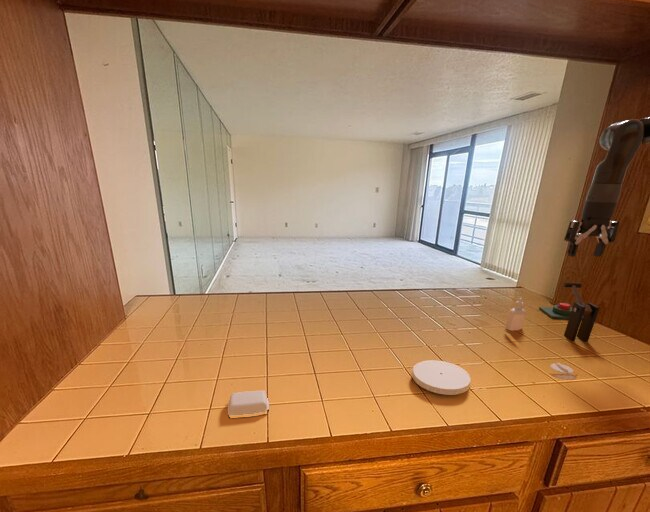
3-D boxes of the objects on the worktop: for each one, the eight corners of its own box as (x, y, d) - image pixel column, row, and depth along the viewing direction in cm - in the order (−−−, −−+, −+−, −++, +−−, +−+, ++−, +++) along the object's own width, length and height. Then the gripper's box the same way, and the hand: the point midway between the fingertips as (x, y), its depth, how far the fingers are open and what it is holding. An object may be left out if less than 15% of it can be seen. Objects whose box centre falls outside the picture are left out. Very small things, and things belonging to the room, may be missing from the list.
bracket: (553, 334, 117) (564, 298, 112) (578, 336, 116) (590, 300, 111) (570, 348, 107) (582, 309, 103) (597, 349, 107) (611, 311, 102)
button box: (569, 313, 136) (572, 304, 134) (585, 323, 126) (588, 313, 125) (538, 312, 136) (540, 302, 135) (550, 321, 127) (553, 311, 126)
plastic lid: (431, 362, 97) (432, 355, 96) (479, 384, 88) (481, 375, 87) (400, 380, 89) (401, 371, 88) (450, 405, 79) (452, 396, 78)
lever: (561, 286, 116) (565, 280, 114) (577, 286, 116) (581, 281, 114) (576, 315, 108) (580, 310, 106) (593, 316, 107) (597, 311, 105)
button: (565, 307, 132) (567, 302, 131) (571, 310, 128) (572, 306, 128) (555, 306, 132) (557, 302, 131) (561, 310, 128) (562, 305, 128)
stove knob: (565, 366, 97) (567, 359, 96) (583, 380, 90) (585, 373, 90) (539, 365, 97) (541, 359, 96) (555, 379, 90) (557, 373, 89)
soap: (268, 396, 81) (267, 386, 80) (270, 415, 75) (269, 403, 74) (228, 400, 79) (227, 390, 78) (227, 419, 73) (225, 408, 72)
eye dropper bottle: (523, 334, 116) (532, 301, 111) (505, 333, 117) (513, 299, 112) (519, 329, 120) (527, 296, 115) (501, 328, 121) (509, 295, 116)
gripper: (588, 200, 95) (571, 259, 102) (636, 201, 97) (616, 258, 103) (568, 199, 102) (553, 253, 108) (613, 199, 103) (595, 253, 110)
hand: (584, 256), depth 106 cm, fingers open, 8 cm apart
